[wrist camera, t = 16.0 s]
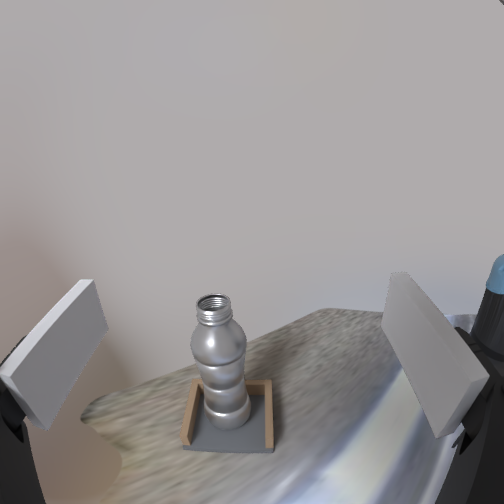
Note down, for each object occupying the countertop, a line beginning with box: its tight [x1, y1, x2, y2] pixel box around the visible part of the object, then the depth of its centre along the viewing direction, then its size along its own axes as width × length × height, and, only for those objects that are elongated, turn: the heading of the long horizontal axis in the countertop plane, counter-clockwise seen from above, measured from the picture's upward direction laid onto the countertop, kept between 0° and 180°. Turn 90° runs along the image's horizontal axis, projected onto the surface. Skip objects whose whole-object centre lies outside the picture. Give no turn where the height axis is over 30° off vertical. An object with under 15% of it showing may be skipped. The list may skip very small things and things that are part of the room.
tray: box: [180, 379, 273, 453], centre depth 38 cm, size 12×12×3 cm
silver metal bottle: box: [190, 294, 251, 430], centre depth 34 cm, size 6×7×20 cm
